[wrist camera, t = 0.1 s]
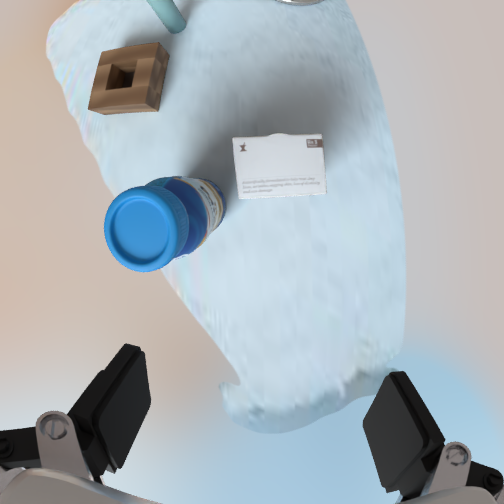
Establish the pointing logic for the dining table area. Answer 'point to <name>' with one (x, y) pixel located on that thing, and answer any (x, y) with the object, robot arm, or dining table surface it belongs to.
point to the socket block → (129, 79)
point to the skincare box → (279, 165)
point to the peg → (168, 15)
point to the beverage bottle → (162, 221)
